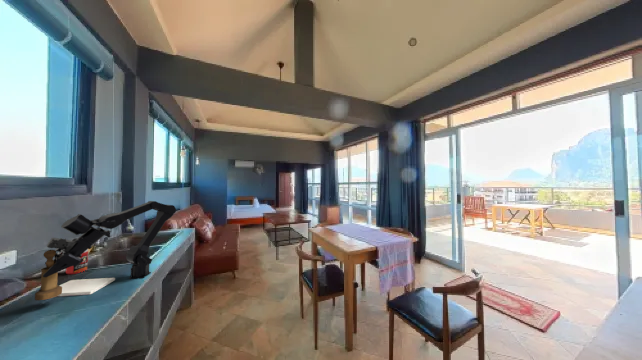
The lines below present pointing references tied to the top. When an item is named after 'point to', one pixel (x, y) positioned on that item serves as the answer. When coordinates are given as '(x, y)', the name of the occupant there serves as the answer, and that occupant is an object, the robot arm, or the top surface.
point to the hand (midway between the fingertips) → (43, 275)
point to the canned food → (81, 266)
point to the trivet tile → (84, 286)
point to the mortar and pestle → (48, 280)
